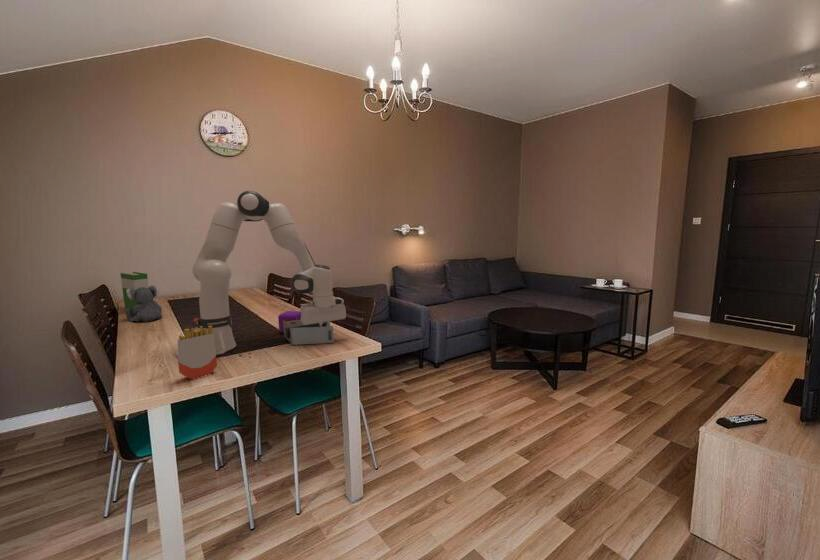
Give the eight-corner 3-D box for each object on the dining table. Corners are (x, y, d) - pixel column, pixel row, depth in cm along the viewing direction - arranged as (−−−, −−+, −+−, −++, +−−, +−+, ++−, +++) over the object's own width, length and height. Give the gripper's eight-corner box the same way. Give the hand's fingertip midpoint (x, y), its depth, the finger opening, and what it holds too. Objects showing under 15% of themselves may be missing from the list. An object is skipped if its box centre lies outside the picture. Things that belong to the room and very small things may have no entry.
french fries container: (179, 378, 128) (174, 328, 125) (212, 369, 136) (207, 322, 134) (184, 382, 125) (179, 331, 122) (217, 372, 133) (213, 324, 131)
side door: (290, 346, 161) (289, 329, 160) (291, 344, 163) (290, 327, 162) (333, 343, 164) (332, 327, 162) (333, 342, 166) (333, 325, 165)
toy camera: (305, 334, 179) (303, 314, 177) (277, 334, 179) (275, 314, 178) (311, 328, 189) (310, 309, 188) (285, 328, 190) (283, 309, 188)
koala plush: (161, 314, 222) (157, 282, 219) (168, 319, 210) (165, 285, 207) (125, 319, 210) (121, 286, 207) (131, 325, 198) (127, 289, 195)
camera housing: (289, 345, 163) (288, 326, 162) (282, 338, 172) (281, 320, 171) (330, 337, 173) (329, 319, 172) (322, 331, 182) (321, 315, 181)
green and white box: (125, 311, 231) (120, 273, 227) (138, 308, 237) (134, 271, 233) (137, 314, 221) (132, 275, 218) (151, 312, 228) (147, 273, 224)
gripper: (302, 305, 156) (304, 336, 158) (347, 299, 167) (348, 329, 169) (297, 302, 161) (299, 333, 163) (341, 297, 172) (342, 325, 174)
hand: (324, 331), depth 166 cm, fingers closed
